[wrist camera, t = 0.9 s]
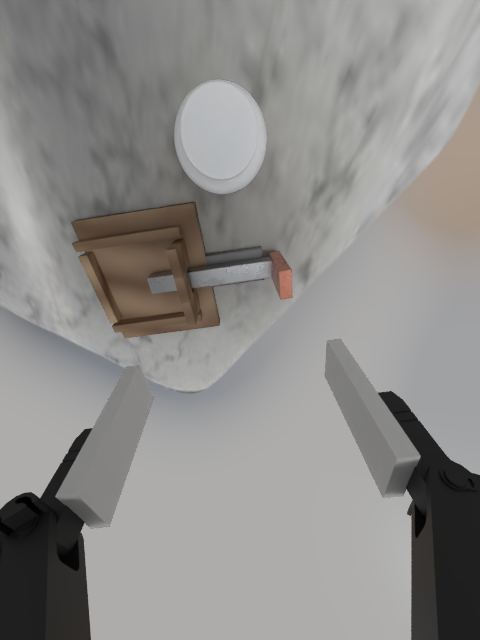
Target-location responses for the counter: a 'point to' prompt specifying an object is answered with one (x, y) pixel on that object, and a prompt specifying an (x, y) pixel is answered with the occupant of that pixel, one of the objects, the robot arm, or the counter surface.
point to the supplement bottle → (220, 136)
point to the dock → (151, 268)
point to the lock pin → (231, 274)
